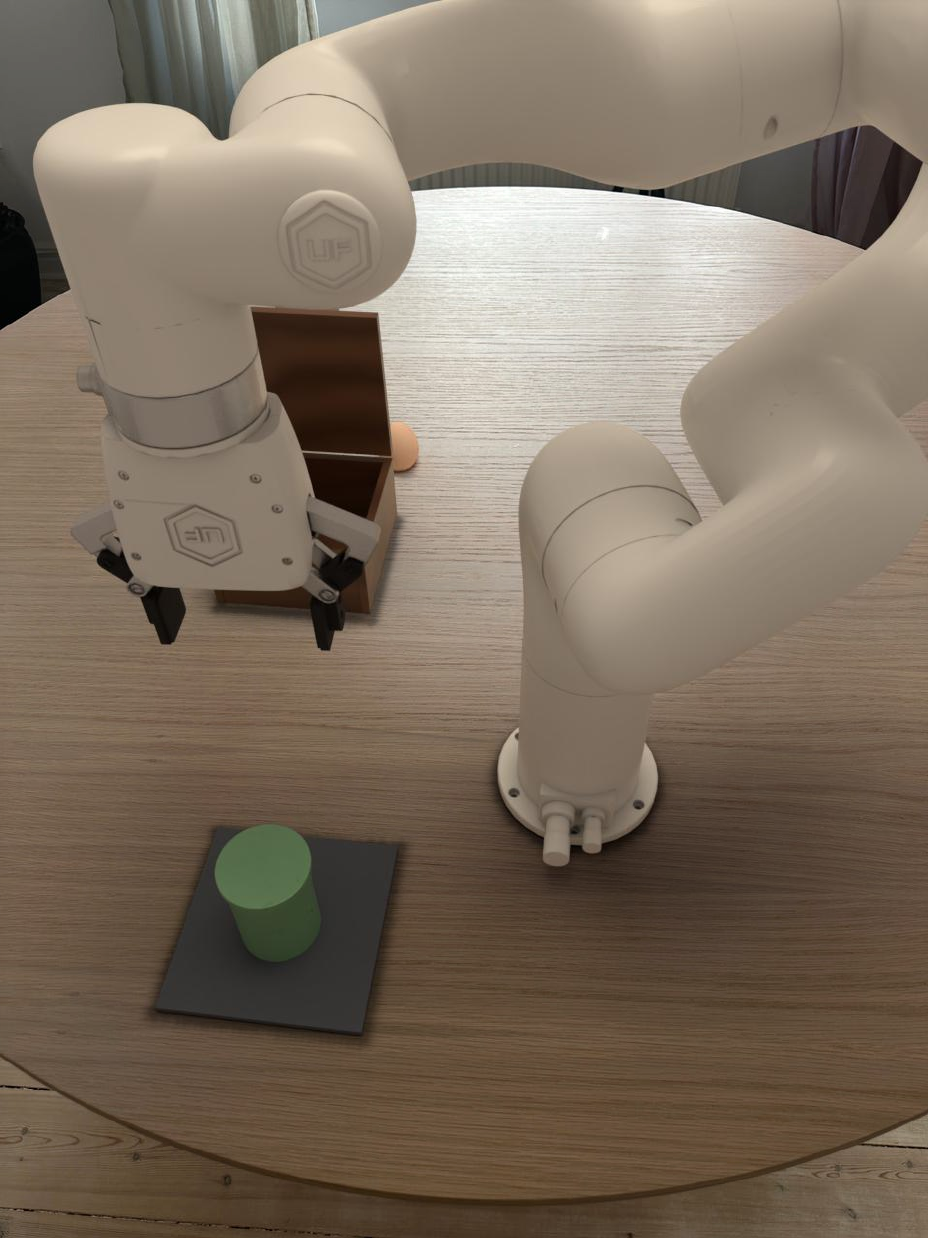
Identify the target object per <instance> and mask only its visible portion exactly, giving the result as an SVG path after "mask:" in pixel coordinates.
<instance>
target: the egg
mask: <svg viewBox="0 0 928 1238" xmlns="http://www.w3.org/2000/svg"><path fill="white" fill-rule="evenodd" d="M390 427H391V437H392V446H393V453H392V456H378V457H384V458H385V457H386V458H393V468H394V472H404V471H406V470H409V469H410V468H411V467H413V466H414V464H415V463H416V461H417V460H418V457H419V454H420V453H419V452H420V446H419V441H418V437H417V435H416V433H414V431H413V429H412V428H411V427H410V426H409V425H407V424H406V423H404V422H402V421H401V422H400V421H394V422H390Z"/></svg>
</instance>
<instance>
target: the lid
mask: <svg viewBox="0 0 928 1238" xmlns="http://www.w3.org/2000/svg"><path fill="white" fill-rule="evenodd" d="M250 307H251V312H252V317H253V322H254V328H255V333H256V338H257V345H258V349H259V354H260V359H261V364H262V369H263V374H264V379H265V384H266V390H267V392H271V393H274V394H276V395H277V396H278V397H279V399H280V401H281V403H282V405H283V407H284V409H285V411H286V413H287V415H288V418H289V420H290V422H291V424H292V427H293V429H294V432H295V434H296V437H297V439H298V442H299V445H300V448H301V451H302V452H312V453H328V454H344V455H361V456H377V457H379V456H392V453H393V446H392V437H391V427H390V424H391V420H390V411H389V400H388V399H389V398H388V391H387V381H386V373H385V372H386V371H385V362H384V354H383V343H382V335H381V326H380V325H381V324H380V315H379V312H376V311H375V312H374V311H354V310H353V311H352V310H340V309H331V310H308V309H291V308H280V307H269V306H253V305H250Z"/></svg>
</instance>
